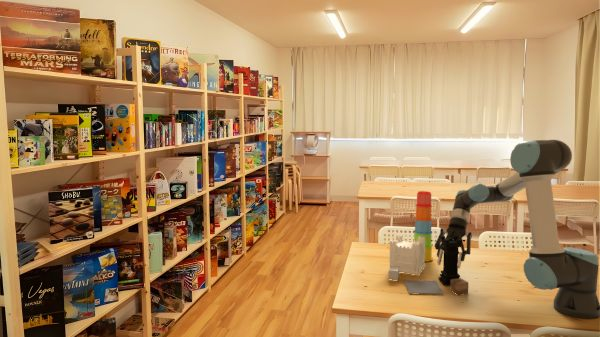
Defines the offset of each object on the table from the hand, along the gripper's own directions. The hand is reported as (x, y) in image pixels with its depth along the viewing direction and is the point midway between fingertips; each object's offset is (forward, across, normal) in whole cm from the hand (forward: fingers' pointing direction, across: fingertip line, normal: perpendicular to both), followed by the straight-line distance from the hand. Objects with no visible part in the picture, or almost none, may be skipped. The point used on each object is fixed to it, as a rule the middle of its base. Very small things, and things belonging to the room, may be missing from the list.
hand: (448, 265), depth 191 cm
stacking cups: (-13, +20, -26) cm, 35 cm away
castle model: (-1, +22, -13) cm, 25 cm away
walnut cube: (+10, -6, -2) cm, 12 cm away
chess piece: (+4, 0, -9) cm, 9 cm away
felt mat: (+13, +8, 0) cm, 15 cm away
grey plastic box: (+10, +22, -2) cm, 25 cm away
